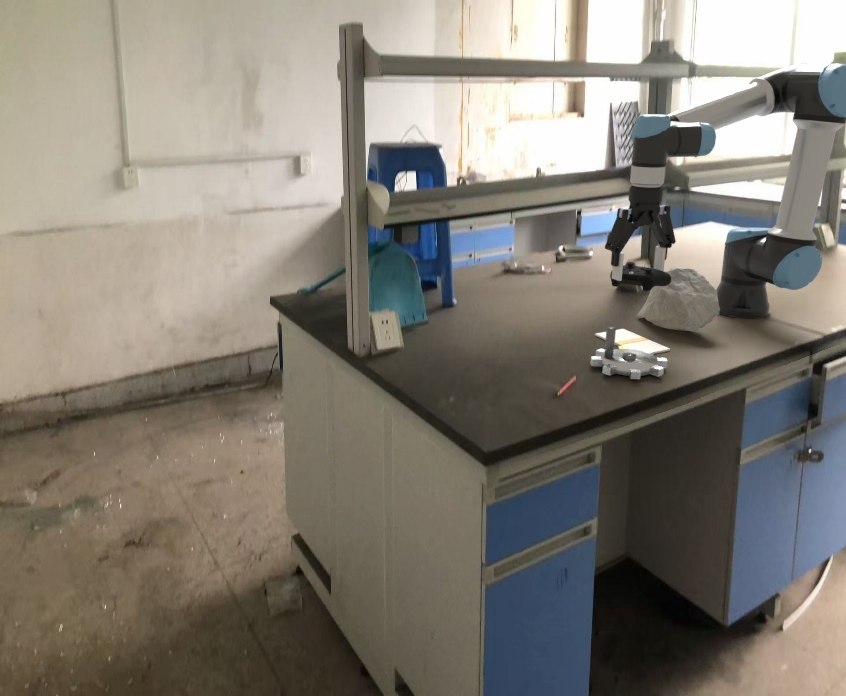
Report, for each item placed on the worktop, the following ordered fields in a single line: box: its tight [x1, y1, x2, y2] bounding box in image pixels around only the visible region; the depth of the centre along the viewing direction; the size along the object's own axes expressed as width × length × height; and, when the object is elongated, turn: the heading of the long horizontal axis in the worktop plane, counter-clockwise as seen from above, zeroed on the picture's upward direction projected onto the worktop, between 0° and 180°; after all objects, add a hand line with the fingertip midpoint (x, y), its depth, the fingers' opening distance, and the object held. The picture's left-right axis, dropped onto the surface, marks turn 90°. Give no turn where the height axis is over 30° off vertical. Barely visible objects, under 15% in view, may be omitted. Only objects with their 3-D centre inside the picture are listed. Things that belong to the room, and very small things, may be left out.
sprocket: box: [590, 326, 668, 380], centre depth 176 cm, size 17×17×9 cm
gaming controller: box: [609, 261, 671, 292], centre depth 188 cm, size 14×6×10 cm
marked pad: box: [594, 328, 671, 355], centre depth 194 cm, size 9×17×1 cm, turn 26°
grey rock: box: [637, 266, 720, 333], centre depth 202 cm, size 22×13×15 cm, turn 31°
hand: (637, 276), depth 188 cm, fingers closed on gaming controller, 12 cm apart
